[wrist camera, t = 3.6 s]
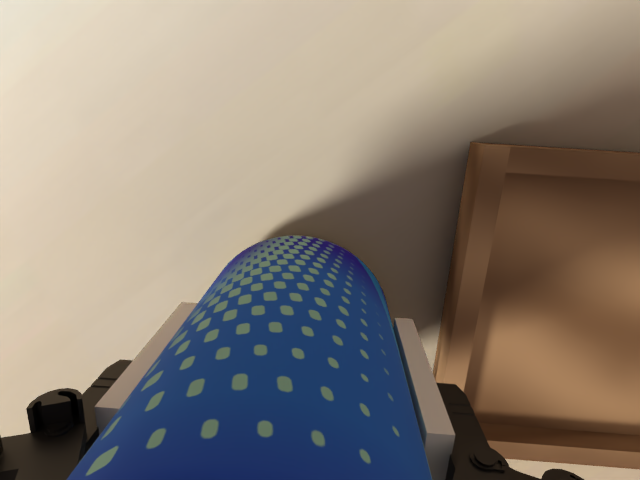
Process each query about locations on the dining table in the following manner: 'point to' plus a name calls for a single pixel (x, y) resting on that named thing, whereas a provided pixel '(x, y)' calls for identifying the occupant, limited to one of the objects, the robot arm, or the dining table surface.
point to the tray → (548, 303)
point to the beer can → (272, 381)
